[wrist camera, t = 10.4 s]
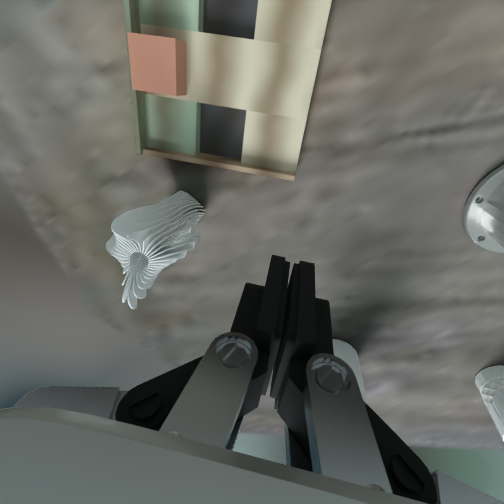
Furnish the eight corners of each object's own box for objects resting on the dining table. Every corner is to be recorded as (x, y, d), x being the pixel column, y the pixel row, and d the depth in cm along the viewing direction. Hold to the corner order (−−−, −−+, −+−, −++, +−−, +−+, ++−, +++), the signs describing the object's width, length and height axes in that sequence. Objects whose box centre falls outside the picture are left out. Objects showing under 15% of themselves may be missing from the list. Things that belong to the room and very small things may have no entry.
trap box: (338, -35, 27) (343, -52, 23) (294, 173, 37) (293, 182, 34) (139, -59, 28) (116, -78, 25) (151, 147, 39) (136, 154, 35)
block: (186, 42, 30) (175, 38, 28) (186, 95, 33) (176, 95, 30) (142, 36, 31) (127, 32, 28) (145, 88, 33) (132, 89, 31)
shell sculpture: (178, 169, 40) (99, 222, 25) (223, 208, 42) (175, 280, 27) (150, 207, 44) (66, 274, 28) (192, 241, 46) (134, 321, 30)
